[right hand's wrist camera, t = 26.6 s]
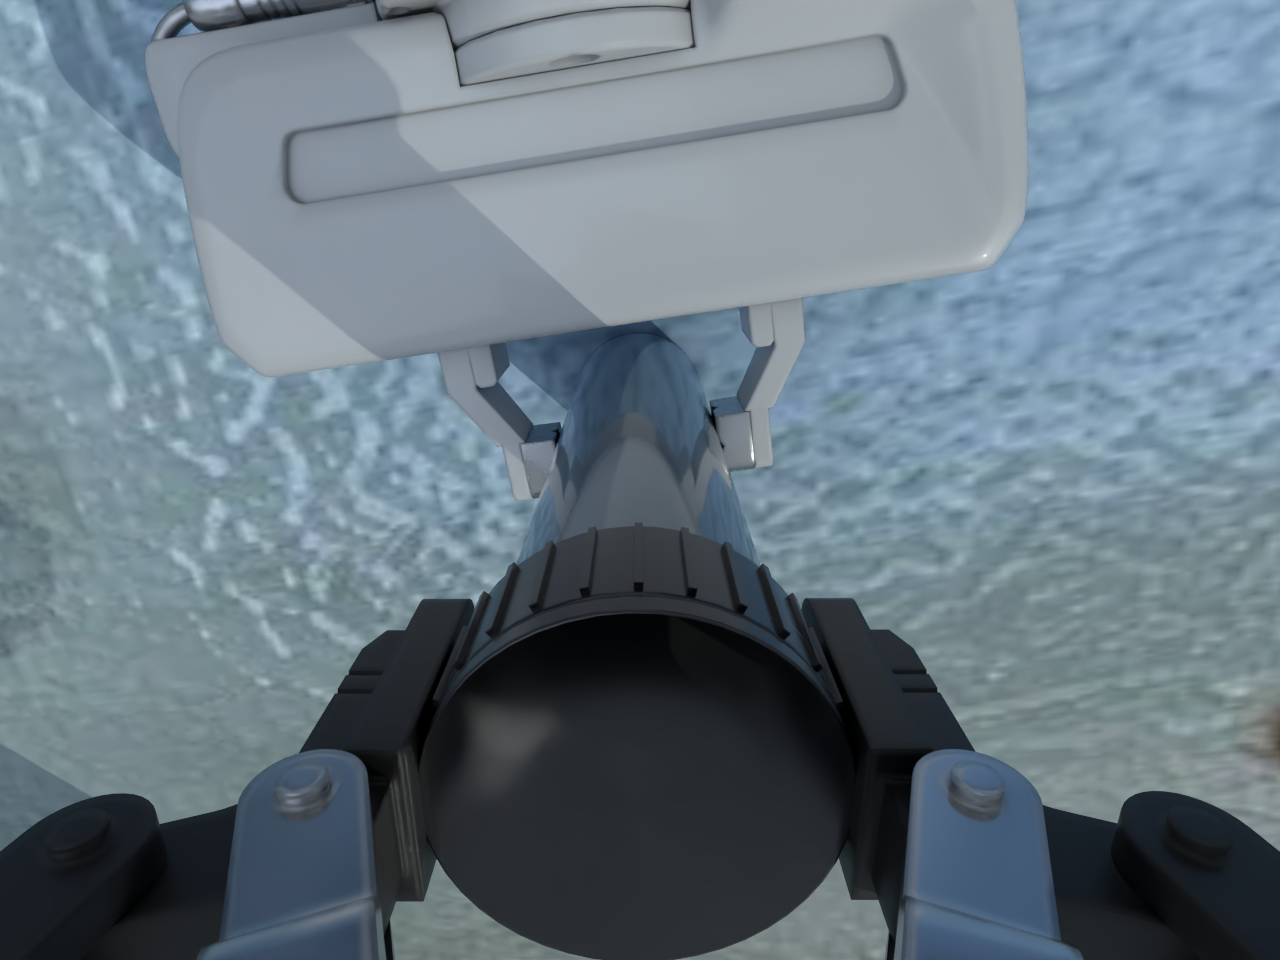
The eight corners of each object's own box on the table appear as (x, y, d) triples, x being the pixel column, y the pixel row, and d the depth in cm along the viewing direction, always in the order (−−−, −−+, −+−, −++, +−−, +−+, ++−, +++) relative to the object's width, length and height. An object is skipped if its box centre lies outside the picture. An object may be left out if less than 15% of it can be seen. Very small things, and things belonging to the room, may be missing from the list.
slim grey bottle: (724, 373, 28) (883, 702, 10) (660, 474, 29) (693, 930, 11) (616, 308, 27) (567, 535, 9) (555, 415, 28) (404, 803, 10)
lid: (735, 866, 12) (755, 1009, 10) (413, 773, 12) (362, 905, 10) (884, 591, 11) (947, 692, 9) (516, 464, 10) (482, 539, 8)
